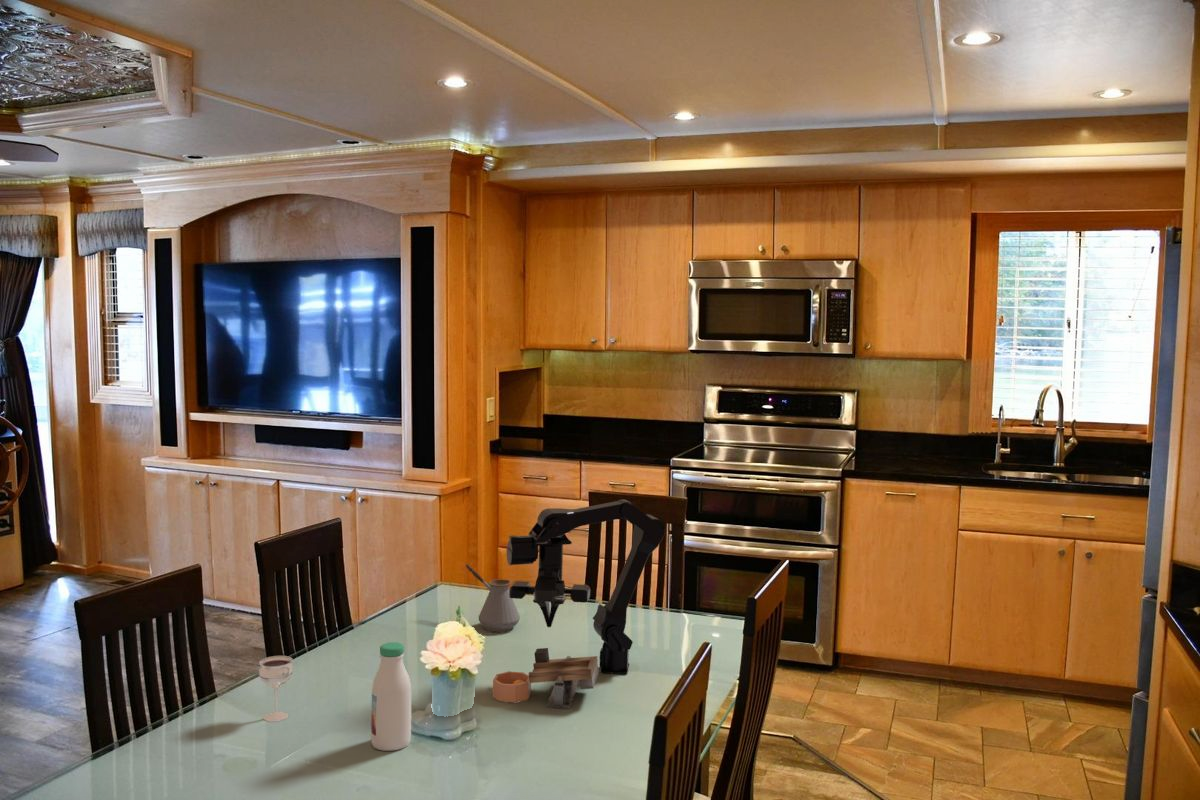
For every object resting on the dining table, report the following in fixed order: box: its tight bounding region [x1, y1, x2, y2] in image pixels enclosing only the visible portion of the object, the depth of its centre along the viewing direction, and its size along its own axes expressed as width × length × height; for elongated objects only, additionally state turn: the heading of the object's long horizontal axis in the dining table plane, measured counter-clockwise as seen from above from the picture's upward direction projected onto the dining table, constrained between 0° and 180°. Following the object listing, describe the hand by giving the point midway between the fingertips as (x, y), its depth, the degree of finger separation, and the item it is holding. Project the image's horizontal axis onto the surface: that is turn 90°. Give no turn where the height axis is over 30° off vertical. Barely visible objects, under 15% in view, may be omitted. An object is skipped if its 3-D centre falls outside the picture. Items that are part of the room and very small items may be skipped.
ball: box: [513, 680, 524, 685], centre depth 208 cm, size 3×3×3 cm
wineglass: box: [258, 655, 294, 723], centre depth 193 cm, size 7×7×12 cm
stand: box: [546, 680, 579, 710], centre depth 209 cm, size 5×15×5 cm, turn 173°
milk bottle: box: [370, 641, 412, 752], centre depth 182 cm, size 8×8×20 cm
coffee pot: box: [462, 564, 521, 633], centre depth 258 cm, size 21×12×15 cm, turn 46°
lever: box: [528, 647, 599, 690], centre depth 208 cm, size 14×14×7 cm
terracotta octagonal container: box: [492, 671, 532, 703], centre depth 208 cm, size 8×8×4 cm
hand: (549, 626), depth 219 cm, fingers closed
